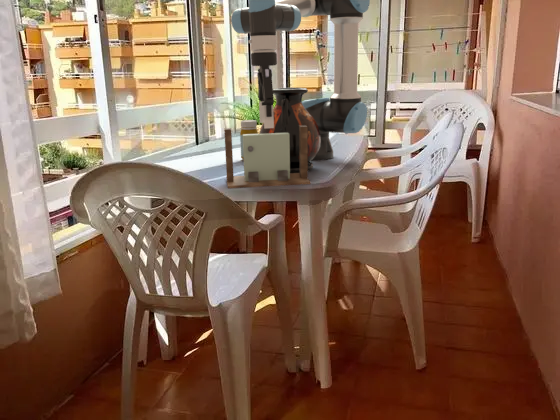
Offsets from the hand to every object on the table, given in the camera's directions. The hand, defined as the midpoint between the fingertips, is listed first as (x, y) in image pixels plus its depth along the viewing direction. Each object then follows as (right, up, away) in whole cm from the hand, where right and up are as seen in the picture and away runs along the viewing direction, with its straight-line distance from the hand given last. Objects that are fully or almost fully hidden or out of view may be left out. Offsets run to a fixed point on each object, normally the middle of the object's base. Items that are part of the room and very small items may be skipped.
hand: (266, 125), depth 150 cm
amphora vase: (+8, -12, +25) cm, 28 cm away
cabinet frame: (0, -17, +5) cm, 18 cm away
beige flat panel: (0, -16, +4) cm, 17 cm away
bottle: (-8, -5, +47) cm, 48 cm away
